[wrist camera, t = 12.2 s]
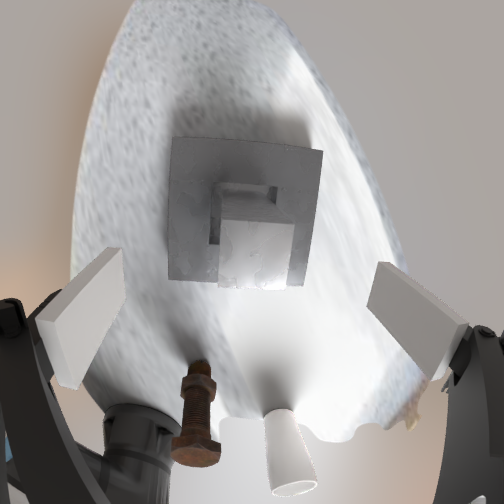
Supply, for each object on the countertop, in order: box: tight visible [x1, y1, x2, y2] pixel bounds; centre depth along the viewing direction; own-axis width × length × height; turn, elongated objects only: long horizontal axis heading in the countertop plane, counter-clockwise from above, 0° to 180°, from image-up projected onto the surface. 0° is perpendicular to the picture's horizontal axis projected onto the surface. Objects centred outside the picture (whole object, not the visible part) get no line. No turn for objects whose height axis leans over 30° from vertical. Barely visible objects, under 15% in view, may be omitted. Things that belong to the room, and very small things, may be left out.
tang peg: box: [218, 189, 295, 290], centre depth 22 cm, size 4×4×14 cm
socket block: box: [168, 137, 323, 286], centre depth 28 cm, size 14×14×4 cm
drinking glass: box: [264, 409, 318, 496], centre depth 35 cm, size 7×7×15 cm
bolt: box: [170, 360, 221, 467], centre depth 29 cm, size 6×5×15 cm
